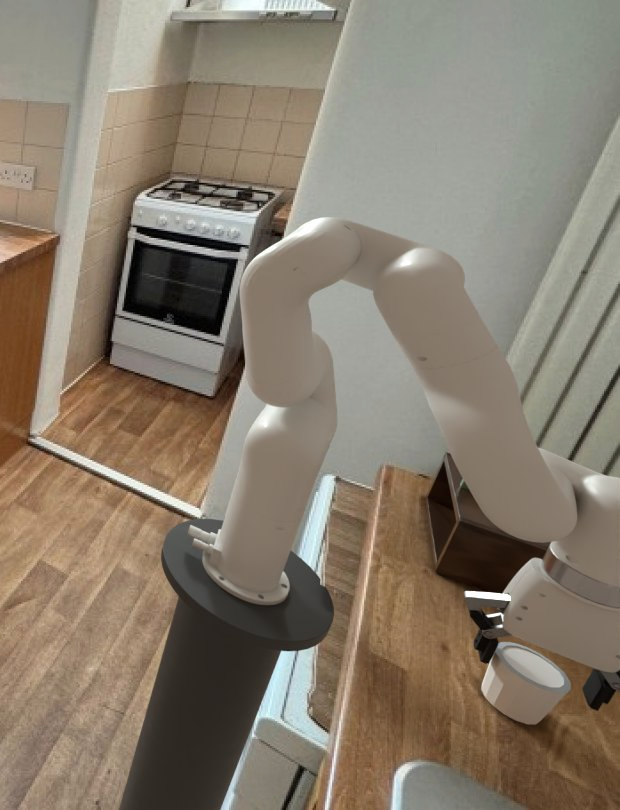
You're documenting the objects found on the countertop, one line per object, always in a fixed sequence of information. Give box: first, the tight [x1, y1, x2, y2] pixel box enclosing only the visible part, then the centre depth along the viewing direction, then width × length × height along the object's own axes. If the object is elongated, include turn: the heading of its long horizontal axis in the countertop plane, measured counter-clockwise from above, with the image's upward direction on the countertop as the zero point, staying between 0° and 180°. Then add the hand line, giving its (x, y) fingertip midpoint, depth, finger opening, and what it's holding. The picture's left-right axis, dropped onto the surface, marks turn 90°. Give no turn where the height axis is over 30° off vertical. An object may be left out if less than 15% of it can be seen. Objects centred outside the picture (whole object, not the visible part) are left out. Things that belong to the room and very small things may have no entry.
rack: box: [424, 451, 551, 594], centre depth 101 cm, size 12×22×14 cm, turn 142°
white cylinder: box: [480, 641, 572, 726], centre depth 78 cm, size 7×7×7 cm
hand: (533, 676), depth 77 cm, fingers open, 9 cm apart
